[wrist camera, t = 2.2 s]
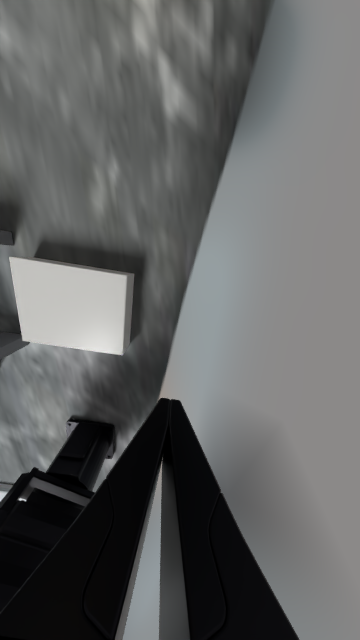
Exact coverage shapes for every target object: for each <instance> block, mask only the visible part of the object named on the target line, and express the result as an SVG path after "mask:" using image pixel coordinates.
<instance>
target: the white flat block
mask: <svg viewBox="0 0 360 640" xmlns="http://www.w3.org/2000/svg"><path fill="white" fill-rule="evenodd" d="M9 259H10V265H11V272H12V278H13V284H14V290H15V296H16V303H17V309H18V315H19V321H20V327H21V334H22V340H23V341H27V342H34V343H41V344H48V345H55V346H62V347H68V348H75V349H82V350H89V351H96V352H103V353H110V354H117V355H123V354H124V352H125V351H126V349H127V348H128V346H129V344H130V333H131V318H132V303H133V288H134V274H133V273H127V272H121V271H115V270H109V269H102V268H96V267H90V266H84V265H78V264H71V263H65V262H59V261H53V260H47V259H41V258H34V257H9Z"/></svg>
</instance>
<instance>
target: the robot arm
mask: <svg viewBox="0 0 360 640" xmlns="http://www.w3.org/2000/svg"><path fill="white" fill-rule="evenodd" d="M66 432H67V440H66V442H65V444H64V445H63V447H62V448H61V450H60V451H59V453H58V454H57V456H56V457H55V459H54V461H53V462H52V464H51V465H50V467H49V468H48V470H47V471H46V473H45V472H42V471H40V470H38V468H35V467H34V468H33V469H32V470H31V472H30V473H29V472H28V473H24V474H21V476H20V477H19V478H18V480H17V481H16V482H15V484H14V485H13V486H12V488H11V489H10V490H9V492H8V493H7V494H6V495H5V497H4V498H3V499H2V500H1V501H0V640H122V638H123V634H124V630H125V625H126V621H127V616H128V612H129V607H130V603H131V598H132V594H133V589H134V585H135V580H136V576H137V571H138V567H139V562H140V558H141V553H142V549H143V544H144V540H145V535H146V530H147V526H148V522H149V517H150V513H151V508H152V504H153V499H154V495H155V490H156V485H157V481H158V477H159V472H160V468H161V462H162V499H161V558H160V615H159V640H299V638H298V636H297V634H296V633H295V631H294V629H293V627H292V625H291V623H290V622H289V620H288V618H287V616H286V614H285V613H284V611H283V609H282V607H281V605H280V604H279V602H278V600H277V598H276V596H275V595H274V593H273V591H272V589H271V587H270V585H269V584H268V582H267V580H266V578H265V576H264V574H263V573H262V571H261V569H260V567H259V565H258V564H257V562H256V560H255V558H254V556H253V554H252V552H251V551H250V549H249V547H248V545H247V543H246V541H245V539H244V537H243V535H242V533H241V531H240V529H239V527H238V525H237V523H236V521H235V519H234V517H233V515H232V513H231V511H230V509H229V506H228V504H227V502H226V500H225V498H224V495H223V493H221V489H220V487H219V485H218V482H217V480H216V478H215V476H214V474H213V471H212V469H211V467H210V465H209V463H208V461H207V458H206V456H205V454H204V452H203V450H202V447H201V445H200V443H199V441H198V439H197V436H196V435H195V432H194V430H193V428H192V426H191V423H190V421H189V419H188V417H187V415H186V413H185V410H184V408H183V406H182V404H181V402H180V401H179V400H174V399H171V400H170V399H167V398H161V399H160V400H159V401H158V403H157V404H156V405H155V407H154V408H153V410H152V411H151V413H150V414H149V416H148V417H147V419H146V420H145V421H144V423H143V424H142V426H141V427H140V429H139V430H138V432H137V433H136V434H135V436H134V437H133V439H132V440H131V442H130V443H129V445H128V446H127V448H126V449H125V450H124V452H123V453H122V455H121V456H120V458H119V459H118V461H117V462H116V464H115V465H114V466H113V468H112V469H111V471H110V472H109V474H108V475H107V477H106V479H105V480H104V481H103V482H102V484H101V485H100V486H99V488H98V489H97V491H96V492H92V490H93V488H94V485H95V483H96V480H97V477H98V475H99V472H100V470H101V467H102V465H103V462H104V460H105V458H106V459H112V457H113V454H114V433H115V427H114V425H111V424H104V423H96V422H89V421H81V420H73V419H69V420H68V421H67V422H66ZM162 457H163V459H162ZM20 498H22V499H25V500H26V501H24V500H21V501H19V499H20Z"/></svg>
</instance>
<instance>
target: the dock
mask: <svg viewBox="0 0 360 640" xmlns="http://www.w3.org/2000/svg"><path fill="white" fill-rule="evenodd" d="M0 244H2V245H13V239H12V232H9V231H3V230H0ZM13 246H14V245H13ZM26 345H28V342H27V341H23V340H22V334H15V333H8V332H1V331H0V359H2V358H4V357H6V356H8V355H10V354H12V353H13V352H15V351H17V350H19V349H21V348H23V347H25V346H26Z"/></svg>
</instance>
